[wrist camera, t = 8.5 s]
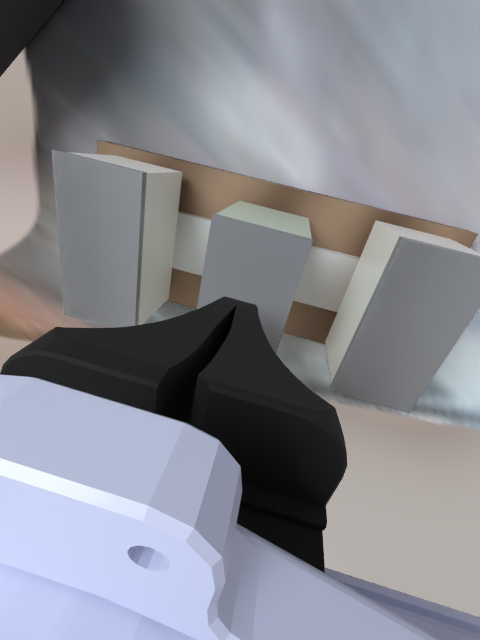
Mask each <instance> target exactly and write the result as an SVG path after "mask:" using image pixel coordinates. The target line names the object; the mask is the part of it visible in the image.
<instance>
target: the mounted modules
mask: <svg viewBox="0 0 480 640" xmlns="http://www.w3.org/2000/svg"><path fill="white" fill-rule="evenodd" d="M51 151H52V164H53V176H54V189H55V202H56V215H57V227H58V240H59V253H60V265H61V278H62V291H63V304H64V315H68V316H71V317H75V318H78V319H82V320H85V321H89V322H92V323H96V324H99V325H103V326H106V327H110V328H117V327H128V326H136V325H142V324H144V323H145V322H146V321H147V320H148V319H149V318H150V317H151V316H152V315H153V314H154V313H155V312H156V311H157V310H158V309H159V308H160V307H161V306H162V305H163V304H164V303H165V302H166V301H167V300H168V299H169V292H170V283H171V274H172V265H173V255H174V246H175V237H176V228H177V218H178V209H179V200H180V190H181V181H182V172H181V171H177V170H173V169H169V168H165V167H161V166H157V165H153V164H149V163H145V162H140V161H136V160H132V159H128V158H124V157H120V156H116V155H103V154H88V153H72V152H64V151H60V150H51ZM479 307H480V253H479V252H477V251H474V250H472V249H470V248H468V247H466V246H464V245H462V244H460V243H458V242H456V241H454V240H451V239H449V238H445V237H441V236H437V235H433V234H429V233H425V232H421V231H417V230H413V229H409V228H405V227H401V226H397V225H393V224H389V223H385V222H381V221H377V220H376V221H375V223H374V226H373V228H372V230H371V233H370V235H369V238H368V240H367V242H366V245H365V247H364V250H363V252H362V254H361V257H360V259H359V262H358V264H357V266H356V269H355V271H354V274H353V276H352V278H351V281H350V283H349V286H348V288H347V290H346V293H345V295H344V298H343V300H342V302H341V305H340V307H339V310H338V312H337V315H336V317H335V319H334V322H333V324H332V327H331V329H330V331H329V334H328V336H327V339H326V341H325V344H326V351H327V358H328V365H329V372H330V379H331V385H330V389H331V391H334V392H337V393H341V394H344V395H348V396H351V397H355V398H358V399H362V400H365V401H369V402H372V403H376V404H379V405H383V406H386V407H390V408H393V409H397V410H400V411H404V412H407V413H409V412H410V411H411V409H412V408H413V406H414V405H415V403H416V402H417V400H418V399H419V397H420V396H421V394H422V393H423V391H424V390H425V388H426V387H427V385H428V384H429V382H430V381H431V379H432V378H433V376H434V375H435V373H436V372H437V370H438V369H439V367H440V366H441V364H442V363H443V361H444V360H445V358H446V357H447V355H448V354H449V352H450V351H451V349H452V348H453V346H454V345H455V343H456V342H457V340H458V339H459V337H460V336H461V334H462V333H463V331H464V330H465V328H466V327H467V325H468V324H469V322H470V321H471V319H472V318H473V316H474V315H475V313H476V312H477V310H478V309H479Z"/></svg>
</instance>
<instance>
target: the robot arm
mask: <svg viewBox="0 0 480 640" xmlns="http://www.w3.org/2000/svg"><path fill="white" fill-rule="evenodd" d="M346 467H347V453H346V447H345V441H344V436H343V432H342V429H341V425H340V422H339V419H338V416H337V412H336V409H335V407H333V406H332V405H330V404H329V403H328V402H326V401H325V400H324V399H322V398H321V397H319V396H318V395H317V394H315V393H314V392H312V391H311V390H310V389H309V388H307V387H306V386H305V385H304V384H303V383H302V382H301V381H299V380H298V379H297V378H296V377H295V376H294V375H293V374H292V373H291V372H290V371H289V369H288V368H287V367H286V366H285V365H284V364H283V363H282V361H281V360H280V359H279V358H278V356H277V355H276V353H275V352H274V350H273V349H272V347H271V345H270V343H269V341H268V339H267V337H266V335H265V333H264V330H263V328H262V325H261V322H260V318H259V314H258V307H257V306H256V305H255V304H251V303H247V302H244V301H240V300H237V299H233V298H229V297H226V296H224V297H222V298H220V299H218V300H216V301H214V302H212V303H210V304H208V305H206V306H203V307H201V308H199V309H197V310H194V311H191V312H189V313H186V314H184V315H181V316H178V317H175V318H171V319H168V320H164V321H160V322H155V323H149V324H142V325H136V326H128V327H117V328H63V327H55V328H54V329H52V330H50V331H49V332H47V333H46V334H44V335H43V336H41V337H40V338H38V339H37V340H35V341H34V342H32V343H31V344H29V345H28V346H26V347H25V348H23V349H21V350H20V351H18V352H17V353H15V354H14V355H12V356H11V357H10V358H9V359H8V360H7V361H6V362H5V363H4V364H3V367H2V370H1V373H0V640H480V617H477V616H473V615H470V614H467V613H464V612H461V611H458V610H455V609H452V608H449V607H446V606H442V605H439V604H436V603H433V602H430V601H427V600H424V599H421V598H418V597H415V596H411V595H408V594H405V593H402V592H399V591H396V590H393V589H390V588H386V587H384V586H380V585H377V584H374V583H371V582H368V581H364V580H362V579H358V578H355V577H352V576H349V575H346V574H343V573H340V572H337V571H334V570H330V569H328V568H325V567H324V552H323V536H322V530H324V529H325V528H326V524H327V518H326V504H327V502H328V501H329V499H330V498H331V496H332V494H333V493H334V491H335V490H336V488H337V486H338V485H339V483H340V481H341V480H342V478H343V476H344V473H345V470H346Z"/></svg>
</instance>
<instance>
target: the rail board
mask: <svg viewBox="0 0 480 640" xmlns="http://www.w3.org/2000/svg"><path fill="white" fill-rule="evenodd" d="M97 150H98V154H103V155H116V156H120V157H124V158H128V159H132V160H136V161H140V162H145V163H149V164H153V165H157V166H161V167H165V168H169V169H173V170H177V171H181V172H182V181H181V190H180V200H179V209H178V218H177V228H176V237H175V246H174V255H173V265H172V274H171V283H170V292H169V299H168V301H172V302H175V303H179V304H182V305H186V306H190V307H193V308H197V305H198V299H199V293H200V287H201V280H202V274H203V268H204V262H205V256H206V250H207V243H208V237H209V231H210V225H211V219H212V215H213V214H216V213H218V212H220V211H222V210H224V209H226V208H227V207H229V206H231V205H233V204H235V203H237V202H238V201H243V202H247V203H251V204H255V205H259V206H263V207H267V208H271V209H275V210H278V211H282V212H286V213H290V214H294V215H298V216H302V217H306V218H309V224H310V230H311V237H312V239H313V242H312V245H311V248H310V251H309V254H308V257H307V260H306V263H305V266H304V269H303V273H302V276H301V279H300V282H299V285H298V288H297V291H296V294H295V297H294V300H293V303H292V306H291V309H290V312H289V315H288V318H287V321H286V324H285V327H284V330H283V332H284V333H287V334H291V335H294V336H298V337H302V338H305V339H309V340H312V341H316V342H320V343H323V344H325V341H326V339H327V336H328V334H329V331H330V329H331V327H332V324H333V322H334V319H335V317H336V315H337V312H338V310H339V307H340V305H341V302H342V300H343V298H344V295H345V293H346V290H347V288H348V286H349V283H350V281H351V278H352V276H353V274H354V271H355V269H356V266H357V264H358V262H359V259H360V257H361V254H362V252H363V250H364V247H365V245H366V242H367V240H368V238H369V235H370V233H371V230H372V228H373V226H374V223H375V221H376V220H377V221H381V222H385V223H389V224H393V225H397V226H401V227H405V228H409V229H413V230H417V231H421V232H425V233H429V234H433V235H437V236H441V237H445V238H449V239H451V240H454V241H456V242H458V243H460V244H462V245H464V246H466V247H468V248H470V247H471V245H472V243H473V242H474V240H475V238H476V237H477V235H478V234H476V233H473V232H470V231H468V230H464V229H460V228H456V227H452V226H448V225H444V224H440V223H436V222H432V221H428V220H424V219H420V218H416V217H412V216H407V215H403V214H399V213H395V212H391V211H387V210H383V209H379V208H375V207H371V206H367V205H363V204H359V203H355V202H351V201H347V200H343V199H339V198H335V197H331V196H327V195H323V194H318V193H314V192H310V191H306V190H302V189H298V188H294V187H290V186H286V185H282V184H278V183H274V182H270V181H266V180H262V179H258V178H254V177H250V176H246V175H242V174H238V173H234V172H230V171H225V170H221V169H217V168H213V167H209V166H205V165H201V164H197V163H193V162H189V161H185V160H181V159H177V158H173V157H169V156H165V155H161V154H157V153H153V152H149V151H145V150H141V149H136V148H132V147H128V146H124V145H120V144H116V143H112V142H108V141H100V140H97Z"/></svg>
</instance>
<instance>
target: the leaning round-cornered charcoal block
mask: <svg viewBox="0 0 480 640" xmlns="http://www.w3.org/2000/svg"><path fill="white" fill-rule="evenodd" d="M62 1H63V0H0V77H1V75H2V74H3V73H4V72H5V70H6V69H7V68H8V67H9V66H10V64H11V63H12V62H13V61H14V60H15V58H16V57H17V56H18V55H19V54H20V52H21V51H22V50H23V49H24V47H25V46H26V45H27V44H28V43H29V41H30V40H31V39H32V38H33V37H34V35H35V34H36V33H37V32H38V30H39V29H40V28H41V27H42V26H43V24H44V23H45V22H46V21H47V20H48V18H49V17H50V16H51V15H52V13H53V12H54V11H55V10H56V9H57V7H58V6H59V5H60V4H61V3H62Z"/></svg>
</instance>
